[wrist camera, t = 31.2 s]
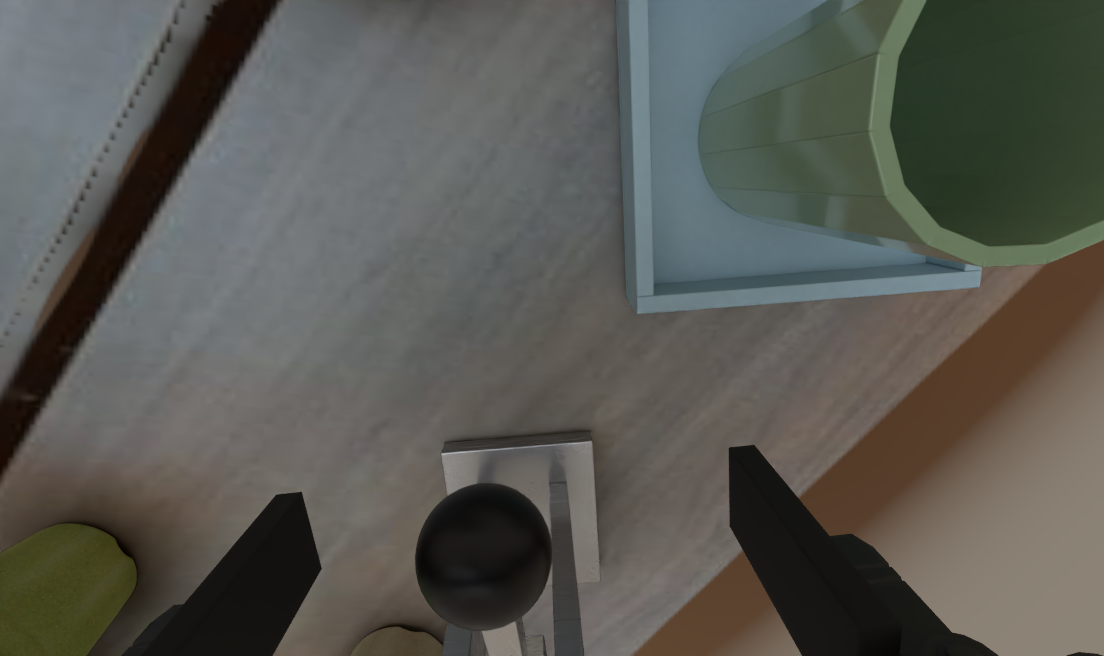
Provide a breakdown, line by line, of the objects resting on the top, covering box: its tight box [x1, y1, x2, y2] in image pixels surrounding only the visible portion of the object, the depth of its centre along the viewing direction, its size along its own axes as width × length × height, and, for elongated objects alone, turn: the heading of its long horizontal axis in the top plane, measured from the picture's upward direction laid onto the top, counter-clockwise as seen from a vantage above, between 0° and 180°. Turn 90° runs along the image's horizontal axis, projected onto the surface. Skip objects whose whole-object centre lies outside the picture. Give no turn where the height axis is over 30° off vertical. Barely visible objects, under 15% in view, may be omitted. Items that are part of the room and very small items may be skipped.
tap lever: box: [415, 483, 552, 656], centre depth 16 cm, size 12×4×4 cm, turn 4°
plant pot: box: [0, 523, 137, 656], centre depth 26 cm, size 9×9×9 cm
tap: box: [441, 431, 601, 656], centre depth 24 cm, size 9×8×13 cm
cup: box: [698, 0, 1104, 267], centre depth 18 cm, size 8×8×13 cm
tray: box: [616, 0, 982, 314], centre depth 23 cm, size 15×16×3 cm
